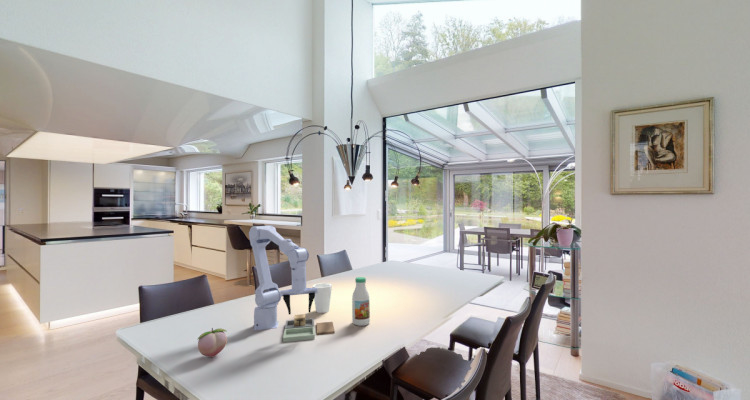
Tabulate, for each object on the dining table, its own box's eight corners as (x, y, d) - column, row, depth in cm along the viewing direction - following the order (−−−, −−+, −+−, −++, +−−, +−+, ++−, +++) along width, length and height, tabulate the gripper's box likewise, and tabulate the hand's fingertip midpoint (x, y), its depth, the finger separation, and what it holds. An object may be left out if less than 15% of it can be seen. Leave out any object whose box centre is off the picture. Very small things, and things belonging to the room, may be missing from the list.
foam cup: (334, 308, 161) (333, 283, 162) (329, 315, 152) (329, 287, 152) (315, 308, 162) (315, 283, 163) (310, 314, 153) (310, 287, 153)
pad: (317, 335, 128) (317, 332, 128) (316, 325, 138) (316, 323, 138) (334, 334, 129) (334, 331, 129) (332, 324, 140) (332, 321, 140)
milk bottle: (349, 324, 139) (348, 278, 140) (358, 319, 146) (357, 275, 147) (364, 327, 136) (363, 280, 136) (372, 321, 143) (372, 276, 143)
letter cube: (294, 329, 134) (294, 318, 134) (294, 325, 138) (294, 314, 138) (305, 328, 135) (305, 317, 135) (305, 324, 139) (305, 314, 139)
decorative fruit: (220, 348, 117) (220, 321, 117) (230, 355, 112) (230, 326, 112) (192, 358, 110) (192, 329, 110) (202, 365, 105) (202, 334, 105)
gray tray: (284, 333, 131) (284, 328, 131) (286, 325, 140) (286, 320, 140) (314, 330, 133) (314, 325, 133) (313, 322, 142) (313, 318, 142)
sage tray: (283, 343, 121) (283, 337, 121) (284, 334, 130) (284, 329, 130) (314, 340, 124) (314, 334, 124) (314, 331, 132) (314, 326, 132)
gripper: (279, 282, 122) (280, 317, 122) (317, 279, 125) (318, 313, 125) (280, 278, 129) (281, 312, 128) (316, 275, 132) (317, 308, 132)
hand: (299, 312), depth 127 cm, fingers open, 7 cm apart
